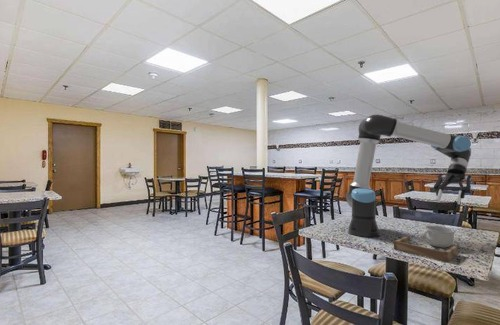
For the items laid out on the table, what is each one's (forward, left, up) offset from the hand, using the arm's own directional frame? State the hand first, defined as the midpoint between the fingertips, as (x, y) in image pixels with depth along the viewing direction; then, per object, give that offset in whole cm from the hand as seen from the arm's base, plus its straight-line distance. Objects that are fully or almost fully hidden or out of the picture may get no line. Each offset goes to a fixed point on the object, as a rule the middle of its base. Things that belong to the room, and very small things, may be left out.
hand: (447, 201), depth 131 cm
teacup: (-8, -14, -19) cm, 25 cm away
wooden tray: (-15, -26, -19) cm, 35 cm away
